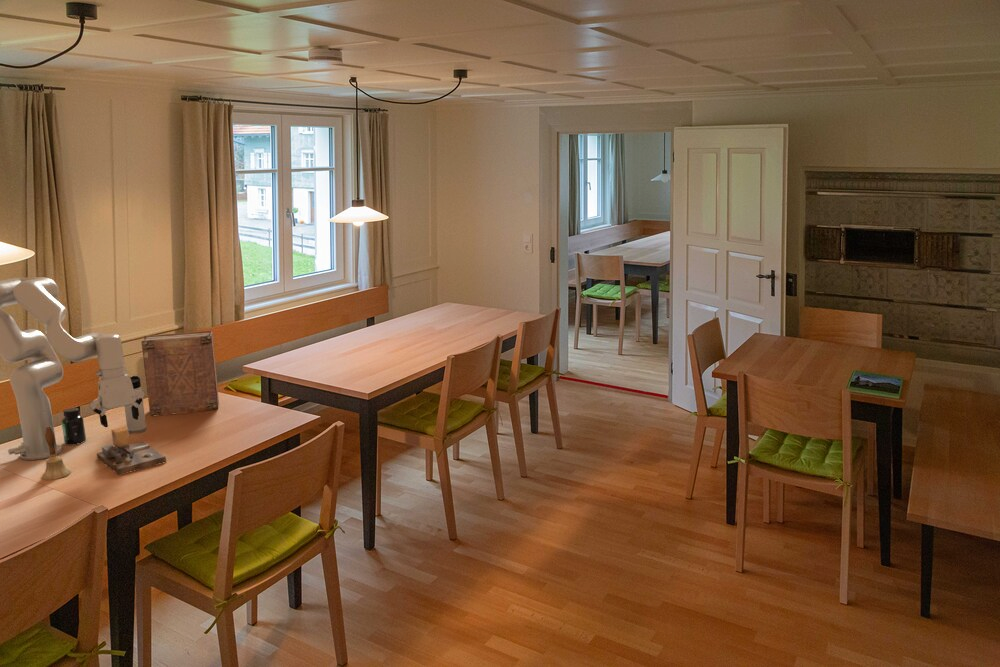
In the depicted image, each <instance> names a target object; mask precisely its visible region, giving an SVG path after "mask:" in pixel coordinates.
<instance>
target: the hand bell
mask: <svg viewBox="0 0 1000 667" xmlns="http://www.w3.org/2000/svg"><path fill="white" fill-rule="evenodd" d="M54 432H55V431H54ZM54 432H53V431H52V429H51V427H47V428H46V433H45V438H46V441H47V444H48V446H49V450H50V457H48V458H46V460H45V465H46V466H45V470H44V472H43V473H42V476H41V479H43V480H45V481H47V480H50V481H51V480H59V479H62V477H63V478H65V477H67V476H70V474H71V473H72V470H71V469H70V468H68V466H66V465H65V463H64V460H63V458H62V456H58V454H57V455H56V452H55V446H54V444H55V439H56V434H55V435H54Z"/></svg>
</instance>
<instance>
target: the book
mask: <svg viewBox="0 0 1000 667" xmlns="http://www.w3.org/2000/svg"><path fill="white" fill-rule="evenodd" d="M143 338H144V339H143V340H141V349H142V351H141V352H142V358H143V367H144V374H145V382H146V390H147V391H146V392H147V400H148V408H149V416H151V417H155V416H154V415H159V416H164V415H163V414H168V415H174V414H173V413H177V414H184V413H185V412H187V413H195V412H203V411H204V410H206V411H214V410H219V405H220V400H219V399H220V398H219V397H220V396H219V390H218V377H217V370H216V369H217V367H216V358H215V357H216V356H215V355H216V354H215V348H214V347H215V346H214V332H213V331H212V330H206V331H194V332H179V333H178V332H177V333H164V334H151V335H144V337H143ZM185 414H186V413H185Z"/></svg>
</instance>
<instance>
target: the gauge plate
mask: <svg viewBox="0 0 1000 667" xmlns="http://www.w3.org/2000/svg"><path fill="white" fill-rule="evenodd" d="M129 448H130V449H131V450H132V451H134V455H133V458H132V459H130V455H129V454H128V453H122V454H120V453H119V452H117V448H115V445H112V444H108V445H105V446H104V445H103V446H101V451H100V452H96V456H97V458H98V459H97V460H98V461H100V462H101V461H102V462H103V465H105V464H106V465H107V466H106V465H105V466H106V467H108V468H109V467H110V468H111V469H110V468H109V469H110V470H112V471H113V470H114V471H115V473H116V474H117V475H118V476H121V475H123V474H124V473H125V474H128V473H131V472H130V471H132V472H135V471H134V470H136V471H138V469H139V470H143V469H146V468H145V467H147V468H150V467H153V465H154V466H157V465H156V464H158V465H160V464H159V463H161V464H164V463H163V462H165V463H166V462H167V457H166V455H164V454H163V453H162V452H161V453H160V452H159V451H158V450H156V449H155V448H154V447H151V445H150V444H147V443H145V442H143V441H139V442H137V443H136V442H135V443H132V444H131V443H130V444H129ZM102 462H101V463H102ZM149 466H150V467H149ZM142 468H143V469H142ZM114 471H113V472H114ZM127 472H128V473H127Z"/></svg>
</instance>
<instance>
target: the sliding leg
mask: <svg viewBox="0 0 1000 667" xmlns="http://www.w3.org/2000/svg"><path fill="white" fill-rule="evenodd" d="M111 436H112V444H113V446H114V447H115V448H117V452H119V453H120V454H122V453H128V454H129V455H130V459H132V458H133V455H134V451H132V450H131V449H130V448H129V445H131V441H130V440H131V439H130V433H129V431H128V429H127V427H125V426H121V427H118V428H114V429H111Z"/></svg>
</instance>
